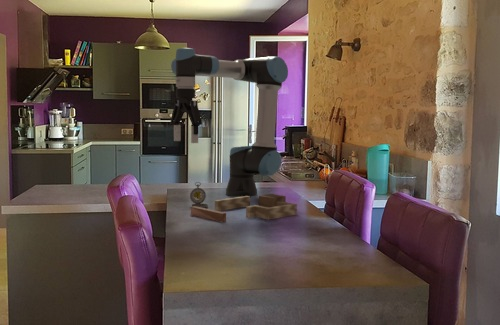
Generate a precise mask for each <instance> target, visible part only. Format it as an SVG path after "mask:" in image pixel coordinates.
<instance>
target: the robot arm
mask: <svg viewBox="0 0 500 325" xmlns="http://www.w3.org/2000/svg"><path fill="white" fill-rule="evenodd" d="M170 66H171V71H172V72H173V74H174V75H175V87H176V89H175V96H176V97H175V98H176V100H174V105H173V109H172V113H171V114H172V115H171V118H170V124H172V125H173V141H174V142H181V139H182V138H181V135H182V134H181V132H182V131H181V124H182V123H181V121H182V119H183V116H184V115H185V113H187V116H188V118H189V120H190V123H191V125H190V132H191V133H190V136H191V138H190V140H191V141H190V143H191V144H199V127H200V125H203V122H202V119H201V118H202V116H201V114H200V110H199V104H198V100H193V99H195V98H196V89H195V88H196V77H212V78H228V79H229V78H230V79H233V80H235V81H240V82H241V81H242V82H248V83H253V84H256V85H255V86H256V87H257V88H258V103H257V117H256V118H257V119H256V130H255V131H256V133H255V141H254V143H252V144H251V145H244V146H243V145H242V146H241V145H240V146H233V147H231V148H230V151H229V179H228V182H227V186H226V188H225V194H226V195H227V196H232V197H242V196H250V197H254V196H257V195H258V188H257V185H256V181H255V175H260V176H262V177H263V176H264V177H266V176H267V177H268V176H269V177H270V176H274V175H275V174H277V172H278V171H279V169H280V167H281V165H282V156H281V154H280V152H279V151H278V146H277V145H276V143H275V137H276V136H275V135H276V121H277V109H278V108H277V107H278V97H279V96H278V95H279V94H278V93H279V90H280V89H282V86H283V82H284V83H285V81H287V78H288V75H289V68H288V65H287V63H286V62H285V60H284V59H283V58H282V57H280V56H271V55H270V56H264V57H263V56H262V57H252V58H245V59H240V58H239V59H235V60H234V61H233V60H223V59H219V58H217V57H216V56H213V55H206V54H205V55H204V54H196V50H195V48H191V47H179V48H177V49H176V51H175V58H174V59H173V60H172V61H171V64H170ZM177 99H178V100H177Z"/></svg>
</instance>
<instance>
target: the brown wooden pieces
mask: <svg viewBox="0 0 500 325" xmlns="http://www.w3.org/2000/svg"><path fill="white" fill-rule="evenodd" d="M244 207H245V217H246V218H259V219H264V220H273V219H275V220H276V219H279V218H285V217H290V216H294V215H295V216H296V215H298V214H297V213H298V211H297V210H298V204H297V203H291V202H288V201H287V202H276V206H275V207H269V208H268V207H263V206H258V204H257V205H256V204H253V205H251V196H234V197H230V198H229V197H228V198H223V199H215V200H214V209H209V208H201V207H196V206H193V207H192V206H190V215H192V216H195V217H200V218H203V219H208V220H211V221H217V222H221V223H223V222H227V212H223V211H225V210H233V209H237V208H238V209H239V208H244Z"/></svg>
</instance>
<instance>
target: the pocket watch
mask: <svg viewBox="0 0 500 325" xmlns="http://www.w3.org/2000/svg"><path fill="white" fill-rule="evenodd" d="M197 183H198V184H197ZM194 185H195V186H196V188H193V189H192V190H191V191H190V194H189V198H190V200H191V202H192V203H193V204H191V207H193V206H196V207H201V208H205V209H207V207H208V205H209V204H207V203H203V202H204V201H205V200H206V198H207V195H206V191H205V190H204V189H202V188H201V187H200V186H201V185H202V182H199V181H196V182H194Z"/></svg>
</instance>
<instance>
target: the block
mask: <svg viewBox="0 0 500 325" xmlns="http://www.w3.org/2000/svg"><path fill="white" fill-rule="evenodd" d="M286 199H287V198H286V195H280V194H275V193H268V194H262V195H258V202H257V203H258V204H257V205H258V206H263V207H268V208H269V207H275V206H276V202H286Z"/></svg>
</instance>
